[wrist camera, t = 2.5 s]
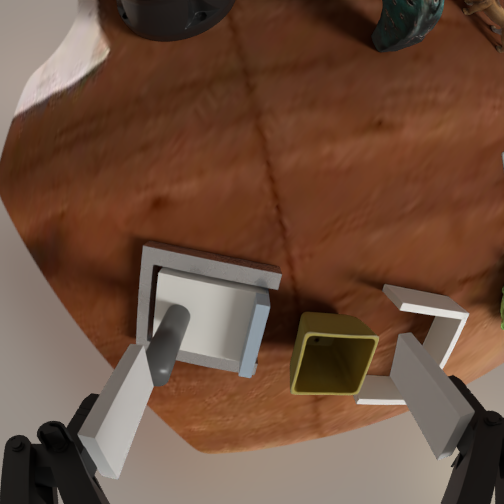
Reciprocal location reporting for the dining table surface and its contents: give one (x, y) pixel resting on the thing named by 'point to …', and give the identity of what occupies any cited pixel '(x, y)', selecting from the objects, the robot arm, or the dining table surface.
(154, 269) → the rail base
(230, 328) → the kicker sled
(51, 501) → the robot arm
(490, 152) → the dining table surface
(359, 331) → the flower pot
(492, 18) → the lion figurine
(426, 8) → the teal arched figure
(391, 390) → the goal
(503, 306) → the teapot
